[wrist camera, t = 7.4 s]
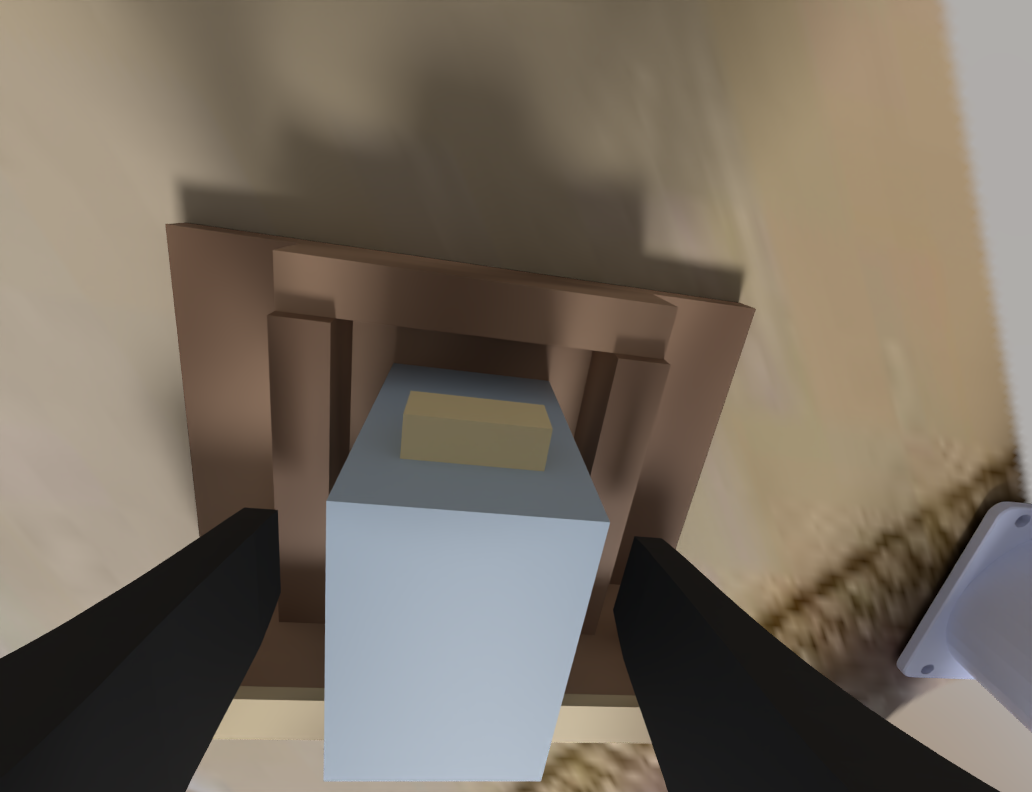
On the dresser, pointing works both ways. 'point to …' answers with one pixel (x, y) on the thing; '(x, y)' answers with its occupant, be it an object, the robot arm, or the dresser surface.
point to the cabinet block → (455, 580)
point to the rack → (438, 344)
